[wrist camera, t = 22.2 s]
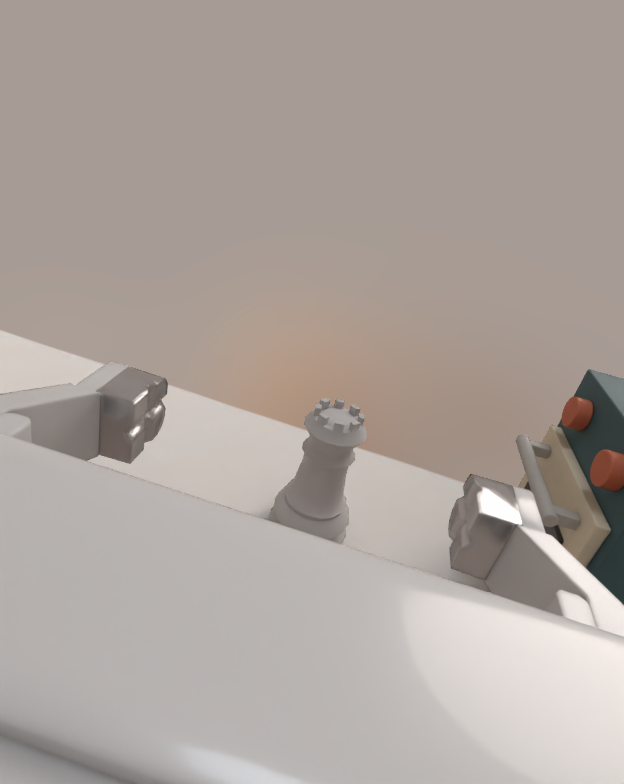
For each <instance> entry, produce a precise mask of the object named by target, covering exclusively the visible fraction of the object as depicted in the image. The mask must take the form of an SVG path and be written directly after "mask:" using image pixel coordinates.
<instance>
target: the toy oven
mask: <svg viewBox="0 0 624 784" xmlns="http://www.w3.org/2000/svg"><path fill="white" fill-rule="evenodd" d="M516 443H517V447H518V450H519V453H520V456H521V460H522V463H523V466H524V469H525V472H526V473H525V475H524V477H523V479H522V481H521V482H520V484H519V486H518V487H519V488H523V489H527V490H530V491H531V492H532V493H533V495H534V498H535V501H536V504H537V507H538V510H539V513H540V516H541V520H542V523H543V526H544V529H545V532H546V534H549V535H552V536H553V537H554V538H555V539H556V540H557V541H558V542H559V543H560V544H561V545H562V546H563V547H564V548H565V549H566V550H567V551H568V552H569V553H571V554H572V555H573V556H574V557H575V558H576V559H577V560H578V561H579V562H580V563H581V564H582V565H583V566H584V567H585V568H586V569H587V570H588V571H589V572H590V573H591V574H592V575H593V576H594V577H595V578H596V579H597V580H598V581H599V582H600V583H601V584H603V585H604V586H605V587H606V588H607V589H608V590H609V591H610V592H611V593H612V594H613V595H614V596H615V597H616V598H617V599H618V600H619V601H620V602H621V603H622V604H623V605H624V379H622V378H619V377H615V376H611V375H608V374H604V373H600V372H597V371H593V370H588V371H587V373H586V374H585V376H584V378H583V380H582V382H581V384H580V386H579V387H578V389H577V391H576V393H575V395H574V397H572V398H571V399H569V401H568V402H567V403H566V405H565V407H564V410H563V413H562V419H561V421H560V423H559V424H558V426H554V425H551V426H550V428H549V430H548V432H547V434H546V436H545V437H544V439H543V441H542V443H540V442H536V441H533V440H530V439H529V437H528V436H526V435H519V436H518V437H517V438H516Z"/></svg>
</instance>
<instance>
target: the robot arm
mask: <svg viewBox="0 0 624 784" xmlns="http://www.w3.org/2000/svg"><path fill="white" fill-rule="evenodd" d="M167 386H168V383H167V380H166V379H165V378H163V377H160V376H157V375H153V374H150V373H148V372H145V371H141V370H138V369H136V368H133V367H130V366H126V365H123V364H120V363H117V362H109V363H107V364H106V365H104V366H103V367H101V368H100V369H98V370H97V371H95V372H94V373H92V374H91V375H89V376H88V377H87V378H85V379H84V380H82V381H81V382H79V383H78V384H76V385H74V384H70V383H69V384H62V385H56V386H49V387H43V388H36V389H30V390H23V391H17V392H10V393H4V394H0V784H624V605H623V604H622V603H621V602H620V601H619V600H618V599H617V598H616V597H615V596H614V595H613V594H612V593H611V592H610V591H609V590H608V589H607V588H606V587H605V586H604V585H603V584H601V583H600V582H599V581H598V580H597V579H596V578H595V577H594V576H593V575H592V574H591V573H590V572H589V571H588V570H587V569H586V568H585V567H584V566H583V565H582V564H581V563H580V562H579V561H578V560H577V559H576V558H575V557H574V556H573V555H572V554H571V553H569V552H568V551H567V550H566V549H565V548H564V547H563V546H562V545H561V544H560V543H559V542H558V541H557V540H556V539H555V538H554V537H553V536H552V535H549V534H546V532H545V529H544V526H543V523H542V520H541V516H540V513H539V510H538V507H537V504H536V501H535V498H534V495H533V493H532V492H531V491H530V490H527V489H523V488H519V487H516V486H512V485H508V484H504V483H501V482H498V481H494V480H490V479H487V478H484V477H480V476H477V475H473V474H470V476H469V477H468V478H467V480H466V482H465V484H464V486H463V490H464V496H463V497H461V498H460V499H458V500H456V503H455V505H454V507H453V509H452V512H451V516H450V520H449V528H448V530H449V537H450V538H451V539H452V540H453V542H452V544H451V546H450V548H449V549H450V563H451V569H454V570H457V571H460V572H463V573H465V574H468V575H471V576H474V577H477V578H480V579H482V580H485V583H486V585H487V586H488V588H489V590H490V591H491V593H489V592H486V591H483V590H480V589H477V588H474V587H471V586H467V585H464V584H461V583H458V582H455V581H452V580H449V579H446V578H443V577H440V576H437V575H434V574H431V573H428V572H425V571H422V570H419V569H415V568H412V567H409V566H406V565H403V564H400V563H397V562H394V561H391V560H388V559H385V558H382V557H379V556H376V555H373V554H370V553H367V552H363V551H360V550H357V549H354V548H351V547H348V546H345V545H342V544H339V543H336V542H333V541H330V540H327V539H324V538H321V537H318V536H315V535H311V534H308V533H305V532H302V531H299V530H296V529H293V528H290V527H287V526H284V525H281V524H278V523H275V522H272V521H269V520H266V519H263V518H259V517H256V516H253V515H250V514H247V513H244V512H241V511H238V510H235V509H232V508H229V507H226V506H223V505H220V504H217V503H214V502H211V501H208V500H204V499H201V498H198V497H195V496H192V495H189V494H186V493H183V492H180V491H177V490H174V489H171V488H168V487H165V486H162V485H159V484H156V483H152V482H149V481H146V480H143V479H140V478H137V477H134V476H131V475H128V474H125V473H122V472H119V471H116V470H113V469H110V468H107V467H104V466H101V465H97V464H94V463H91V462H88V461H87V460H90V459H92V458H95V457H97V456H98V455H102V456H105V457H108V458H112V459H115V460H119V461H122V462H125V463H129V464H131V462H132V461H133V460H134V459H135V458H136V457H137V456H138V455H139V454H140V453H141V452H142V451H143V449H144V443H145V442H148V441H152V440H153V439H154V438H155V436H156V435H157V434H158V432H159V430H160V428H161V426H162V424H163V420H164V416H165V406H164V405H163V403H162V401H161V399H162V398H163V397H164V396H165V395H166V394H167Z"/></svg>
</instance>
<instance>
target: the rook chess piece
mask: <svg viewBox="0 0 624 784" xmlns="http://www.w3.org/2000/svg"><path fill="white" fill-rule="evenodd" d="M344 403H345V400H342V399H338V398H336V400H335V404H334V406H329V404H330V400H329V399H328V398H325V399H321V400H320V403H319V404H317V403H316V406H315V410H313V411H312V412H310V413H309V414H308V415H307V416H306V417H305V421H304V424H305V426H306V428H307V430H308V432H309V434H310V436H309V438H307V439H306V440H305V441H304V442H303V447H302V449H303V451H304V457H303V460H302V462H301V464H300V467H299V469H298V471H297V473H296V476H295V477H294V479H292V480H291V481H290V482H289V483H288V484H287V485H286V486H285V487H284V488H283V489H282V490H281V491H280V492H279V493H278V495H277V496H276V498H275V503H274V507H273V508H272V509H271V514H270V519H269V520H270V521H272V522H275V523H278V524H281V525H284V526H287V527H290V528H293V529H296V530H299V531H302V532H305V533H308V534H311V535H315V536H318V537H321V538H324V539H327V540H330V541H333V542H336V543H339V544H341V543H342V541H343V540H344V538H345V537H346V527H347V526H348V524H349V510H348V507H347V505H346V497H345V495H344V485H345V478H346V473H347V470H348V467H349V466H350V465H351V464H352V463H353V462H354V460H355V453H354V452H353V448H355V447H356V446H358V445H360V444H361V443H363V442H364V440H365V439H366V438H367V433H366V429H365V427H364V425H363V422H364V419H365V418H364V414H360V413H359V412H360V408H359V407H357V406H356V405H355V404H353V405H351V407H350V410H347V409H345V408H343V406H344Z"/></svg>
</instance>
